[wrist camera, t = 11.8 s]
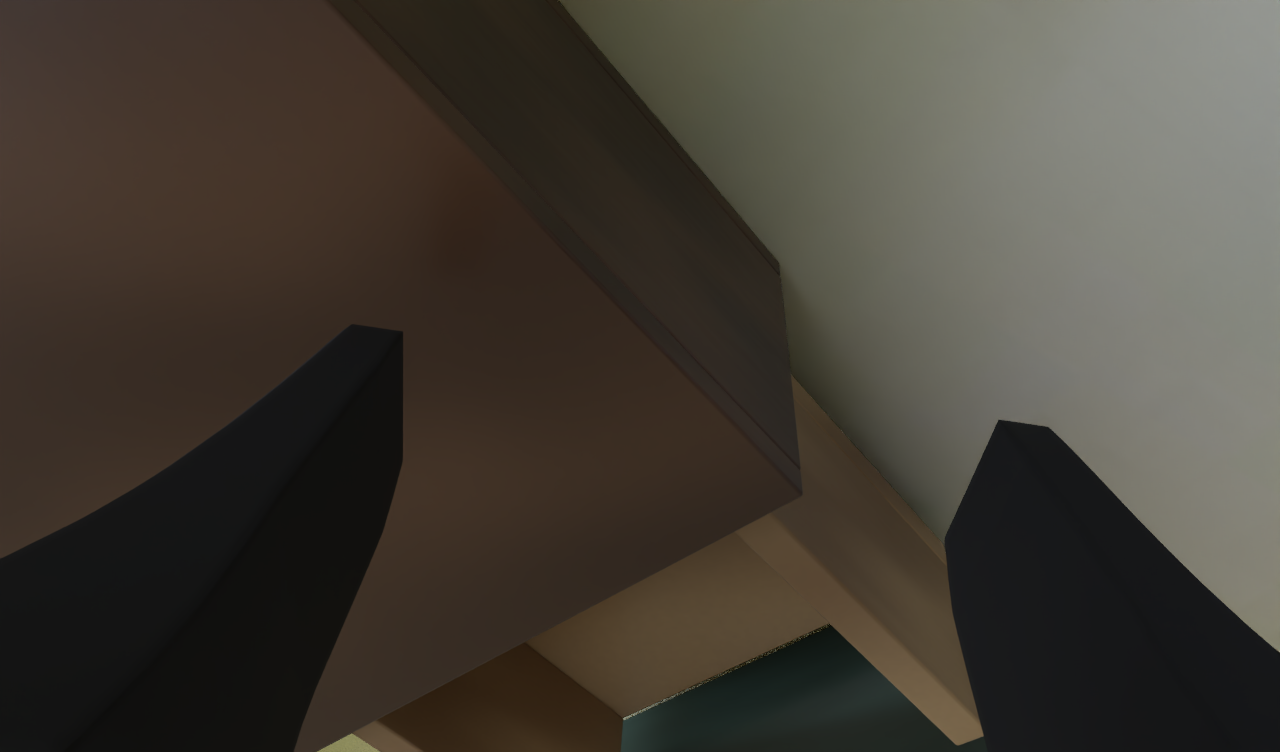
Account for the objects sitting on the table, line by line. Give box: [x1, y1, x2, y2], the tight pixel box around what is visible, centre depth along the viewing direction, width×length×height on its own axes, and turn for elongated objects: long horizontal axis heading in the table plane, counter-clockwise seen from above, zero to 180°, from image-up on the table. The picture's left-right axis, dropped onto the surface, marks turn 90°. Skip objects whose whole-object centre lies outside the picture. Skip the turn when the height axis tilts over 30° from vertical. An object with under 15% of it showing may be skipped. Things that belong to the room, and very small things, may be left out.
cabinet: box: [0, 0, 803, 752], centre depth 18 cm, size 14×13×7 cm
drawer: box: [352, 375, 988, 752], centre depth 24 cm, size 18×12×6 cm
